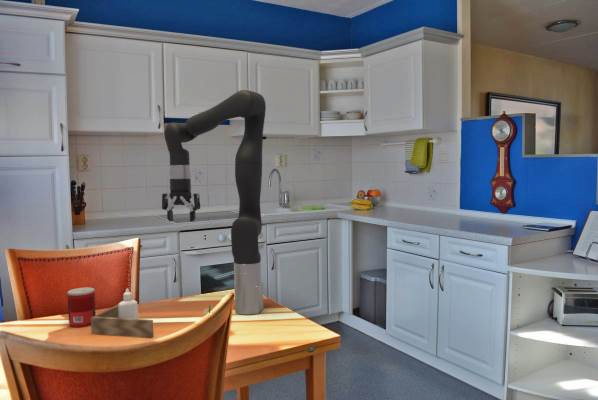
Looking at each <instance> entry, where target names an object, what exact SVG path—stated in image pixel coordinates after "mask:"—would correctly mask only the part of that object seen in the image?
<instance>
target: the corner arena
mask: <svg viewBox="0 0 598 400" xmlns="http://www.w3.org/2000/svg"><path fill="white" fill-rule="evenodd" d="M90 326H91V327H90V329H91V330H90V331H91V334H92V335H102V336H104V335H105V336H106V335H107V336H121V337H131V338H132V337H134V338H137V337H138V338H148V339H151V338H153V337H154V319H146V318H144V319H142V318H138V319H129V318H119V315H118V304H116V305H114V306H112V307H110V308H108V309H105V310H104V311H102V312H100V313H97V314H96V315H95V316H93V317H91V325H90Z"/></svg>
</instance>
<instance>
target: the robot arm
mask: <svg viewBox="0 0 598 400" xmlns="http://www.w3.org/2000/svg"><path fill="white" fill-rule="evenodd" d="M266 108H267V106H266V100H265V97H264V96H263V95H262V94H261V93H259V92H256V91H252V90H249V89H241V90H238V91H237V92H235V93H233V94H232V95H230V96H229V97H227V98H226V99H224V100H223V101H221V102H220V103H217V104H216V105H214V106H213V107H211V108H209V109H207V110H205V111H202V112H200V113H197V114H194V115H192V116H191V117H188V118H187V120H186V122H183V123H181V122H170V123H168V124H167V125H166V126H165V128H164V135H163V136H164V140H165V143H166V144H165V145H166V147H167V148H166V149H167V151H168V154H169V171H168V172H169V190H170V193H168V192H165V193H162V194H161V197H162V198H161V209H162V210H163V211H166V216H167V220H168V222H173V221H174V211H173V210H174V208H175V207H176V206H180V205H181V206H186V207H187V208H188V210H189V222H190V223H191V222H195V220H196V212H197V211H198V210H200V209H201V199H200V197H201V196H200V193H198V192H197V193H192V191H191V190H192V184H191V183H192V182H191V181H192V180H191V178H192V176H191V175H192V174H191V169H190V168H191V166H190V151H189V150H188V149H185V148H184V147H183V144H184V143H188V142H191V141H194V140H195V139H196V138H197V137H198V136H200V135H204V134H206V133H208V132H210V131H213V130H215V129H216V128H217V127H219V126H220V125H221V124H222V123H223V122H225V121H229V120H231V119H237V118H243V119H244V130H243V131H244V132H243V135H242V140H241V142H240V144H239V146H238V149H237V151H236V154H235V157H234V159H235V160H234V179H235V185H236V189H237V193H238V199H239V206H238V207H239V209H238V217H237V218H236V219H234V221H233V222H232V225H231V228H230V241H231V242H230V243H231V254H232V257H233V280H234V282H233V285H234V287H233V288H234V312H235V313H236V314H238V315H246V316H247V315H258V314H260V313H261V312H262V311H263V310H264V282H263V281H262V266H261V265H262V261H261V259H262V258H261V257H262V256H261V253H260V248H259V237H260V235H261V233H262V229H263V228H262V226H263V224H262V215H261V214H262V213H261V193H262V178H263V142H264V141H263V138H264V137H263V135H264V125H265V119H266V117H265V116H266ZM182 143H183V144H182ZM169 199H170V200H171V201H170V202H169ZM191 199H192V200H193V202H192V200H191Z"/></svg>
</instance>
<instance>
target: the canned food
mask: <svg viewBox="0 0 598 400" xmlns="http://www.w3.org/2000/svg"><path fill="white" fill-rule="evenodd" d="M95 293H96V292H95V288H93V287H88V286H86V287H78V288H77V287H76V288H72V289H70V290H68V291H67V310H68V313H67V315H68V324H69V326H70V327H72V328H84V327H89V326H91V317H93V316H95V315H97V314H96V294H95Z"/></svg>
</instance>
